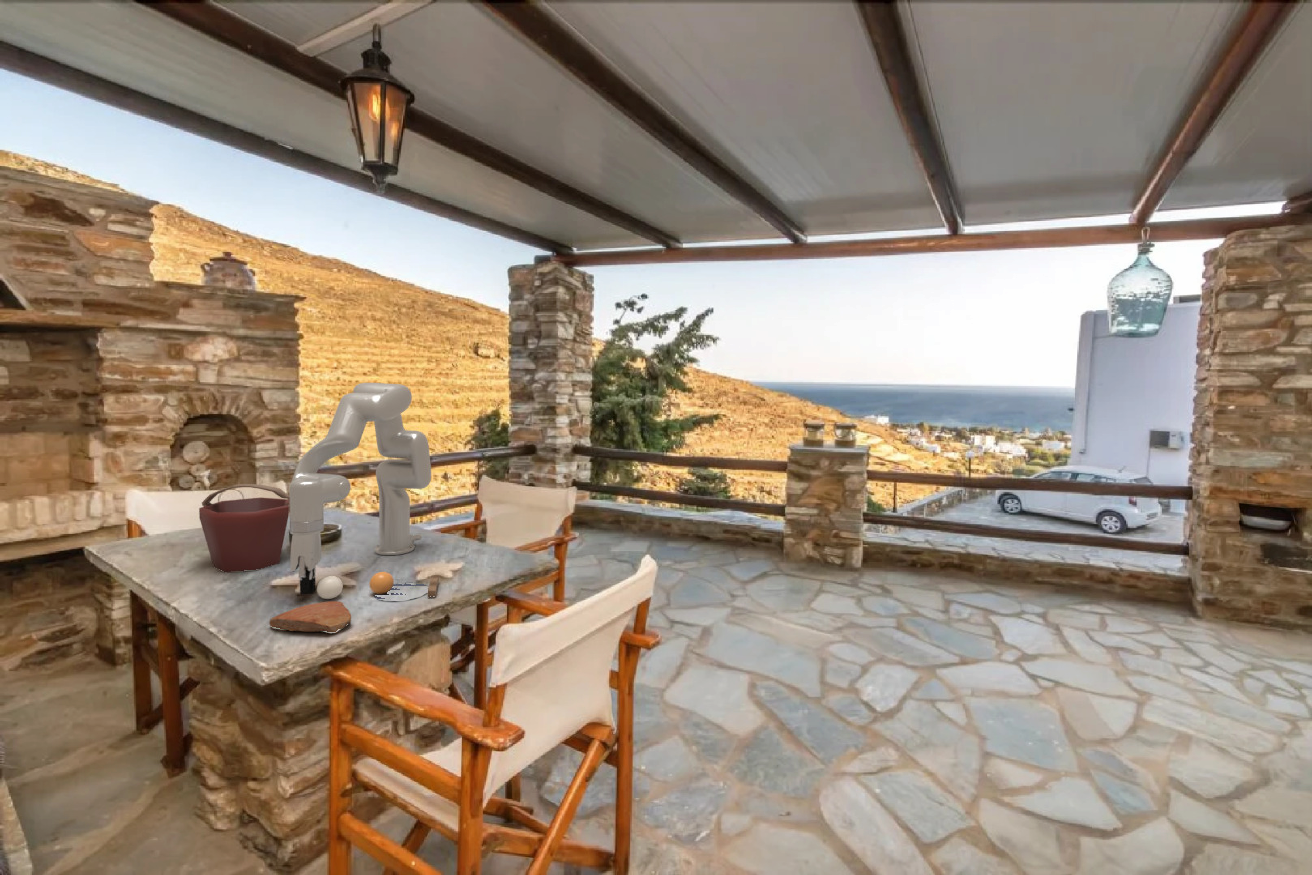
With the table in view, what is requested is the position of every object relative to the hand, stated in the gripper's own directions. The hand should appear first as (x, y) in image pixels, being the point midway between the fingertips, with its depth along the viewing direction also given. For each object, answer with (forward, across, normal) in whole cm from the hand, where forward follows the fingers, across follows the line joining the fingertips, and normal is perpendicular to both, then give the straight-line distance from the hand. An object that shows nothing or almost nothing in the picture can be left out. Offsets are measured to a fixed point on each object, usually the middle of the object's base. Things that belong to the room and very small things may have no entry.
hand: (307, 592), depth 145 cm
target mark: (+2, 0, +23) cm, 23 cm away
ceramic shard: (+2, +19, +7) cm, 20 cm away
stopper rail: (+2, 0, +31) cm, 31 cm away
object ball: (-2, 0, +18) cm, 18 cm away
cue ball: (-2, +1, +5) cm, 6 cm away
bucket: (+2, -33, -25) cm, 42 cm away
